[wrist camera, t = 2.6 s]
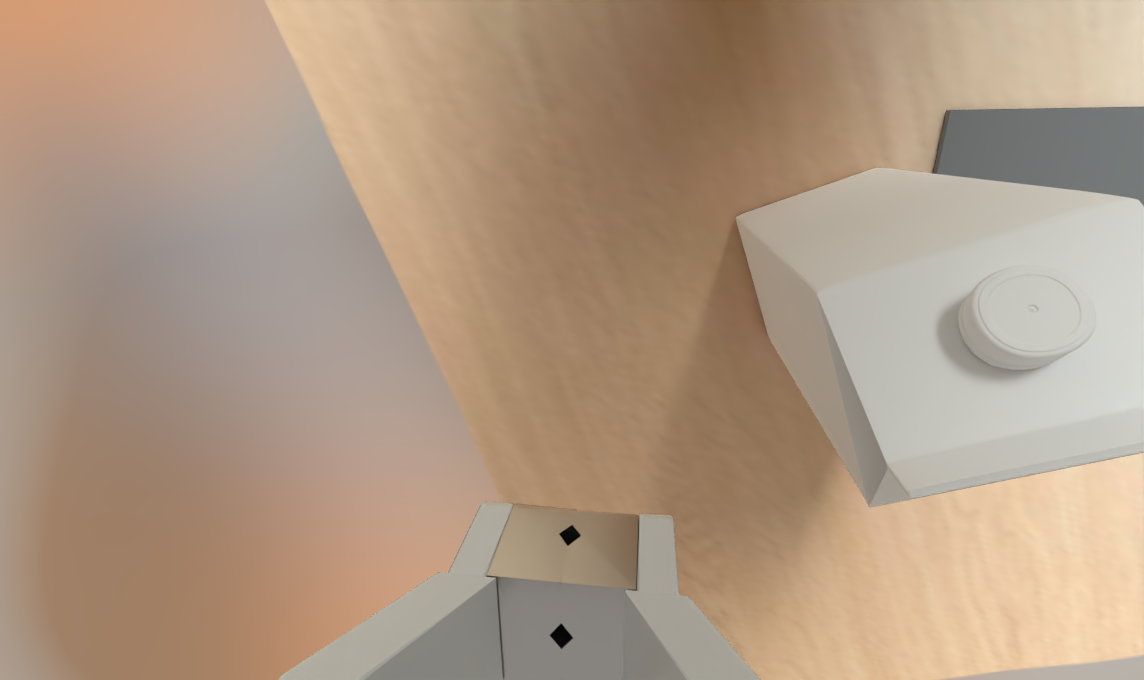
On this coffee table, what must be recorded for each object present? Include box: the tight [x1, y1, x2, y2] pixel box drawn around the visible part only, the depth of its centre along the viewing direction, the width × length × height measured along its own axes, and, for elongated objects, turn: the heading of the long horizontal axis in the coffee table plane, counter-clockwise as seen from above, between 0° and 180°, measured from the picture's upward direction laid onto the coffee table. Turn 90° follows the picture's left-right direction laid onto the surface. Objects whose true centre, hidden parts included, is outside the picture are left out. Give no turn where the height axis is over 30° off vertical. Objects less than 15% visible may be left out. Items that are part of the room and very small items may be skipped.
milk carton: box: [736, 167, 1144, 507], centre depth 19 cm, size 7×7×19 cm
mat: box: [933, 107, 1144, 206], centre depth 26 cm, size 14×16×1 cm
